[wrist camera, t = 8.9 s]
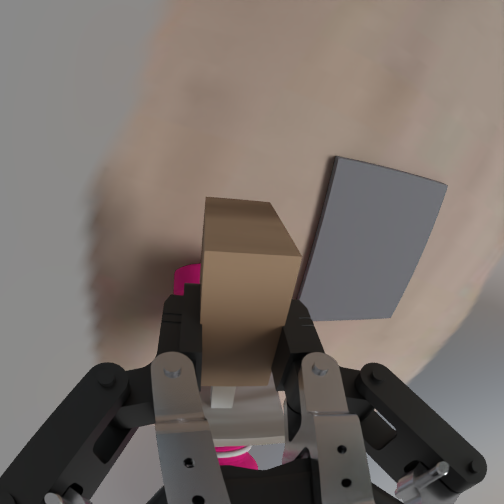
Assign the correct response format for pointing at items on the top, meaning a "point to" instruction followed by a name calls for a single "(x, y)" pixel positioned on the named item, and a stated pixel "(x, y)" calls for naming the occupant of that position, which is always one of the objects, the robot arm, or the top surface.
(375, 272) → the mat
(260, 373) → the wood and metal piece
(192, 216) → the top surface
